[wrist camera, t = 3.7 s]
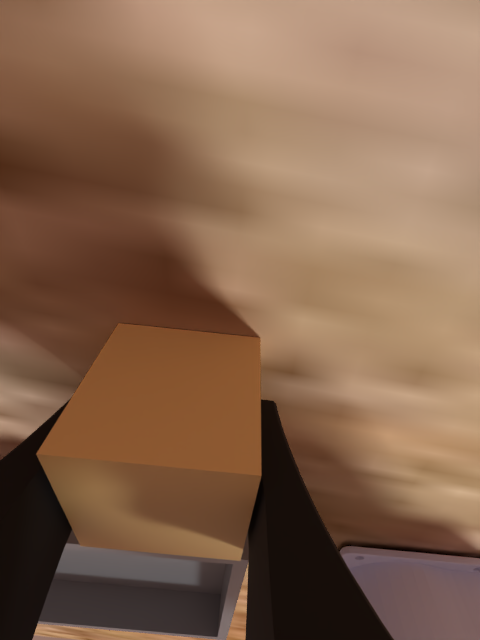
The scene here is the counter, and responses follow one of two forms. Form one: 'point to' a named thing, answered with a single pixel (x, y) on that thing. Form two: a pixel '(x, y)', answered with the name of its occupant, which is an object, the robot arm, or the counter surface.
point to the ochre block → (162, 444)
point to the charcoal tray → (144, 591)
